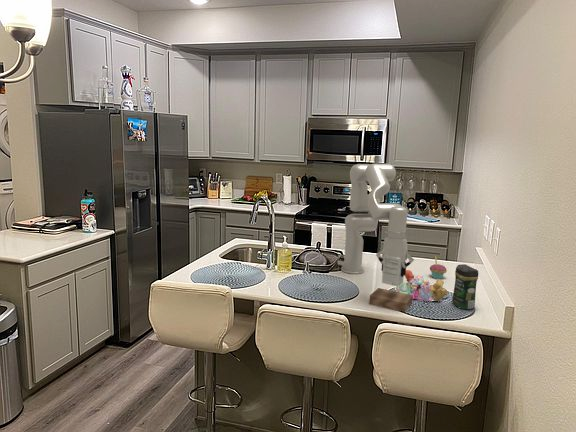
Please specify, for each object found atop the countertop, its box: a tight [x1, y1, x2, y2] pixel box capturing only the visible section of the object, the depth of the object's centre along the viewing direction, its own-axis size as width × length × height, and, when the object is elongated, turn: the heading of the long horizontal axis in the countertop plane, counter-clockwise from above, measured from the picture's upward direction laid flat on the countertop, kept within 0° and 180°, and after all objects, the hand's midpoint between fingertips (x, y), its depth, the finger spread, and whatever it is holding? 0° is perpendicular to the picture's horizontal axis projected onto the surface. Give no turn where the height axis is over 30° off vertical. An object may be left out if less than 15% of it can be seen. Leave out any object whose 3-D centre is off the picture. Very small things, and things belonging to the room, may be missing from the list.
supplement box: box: [381, 255, 405, 287], centre depth 193 cm, size 7×7×13 cm
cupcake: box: [429, 255, 448, 280], centre depth 235 cm, size 9×8×12 cm
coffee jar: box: [451, 263, 479, 310], centre depth 195 cm, size 10×8×19 cm
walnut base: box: [368, 287, 414, 313], centre depth 196 cm, size 16×12×4 cm
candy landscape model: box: [394, 269, 449, 303], centre depth 210 cm, size 25×24×9 cm
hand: (393, 274), depth 194 cm, fingers closed on supplement box, 7 cm apart
